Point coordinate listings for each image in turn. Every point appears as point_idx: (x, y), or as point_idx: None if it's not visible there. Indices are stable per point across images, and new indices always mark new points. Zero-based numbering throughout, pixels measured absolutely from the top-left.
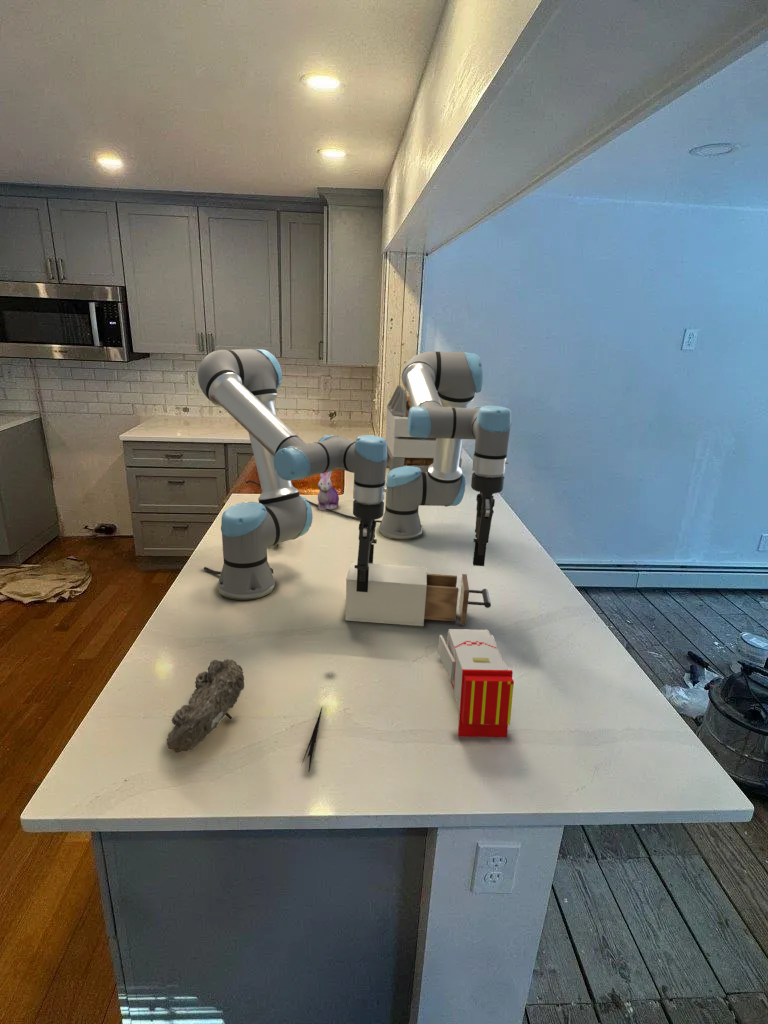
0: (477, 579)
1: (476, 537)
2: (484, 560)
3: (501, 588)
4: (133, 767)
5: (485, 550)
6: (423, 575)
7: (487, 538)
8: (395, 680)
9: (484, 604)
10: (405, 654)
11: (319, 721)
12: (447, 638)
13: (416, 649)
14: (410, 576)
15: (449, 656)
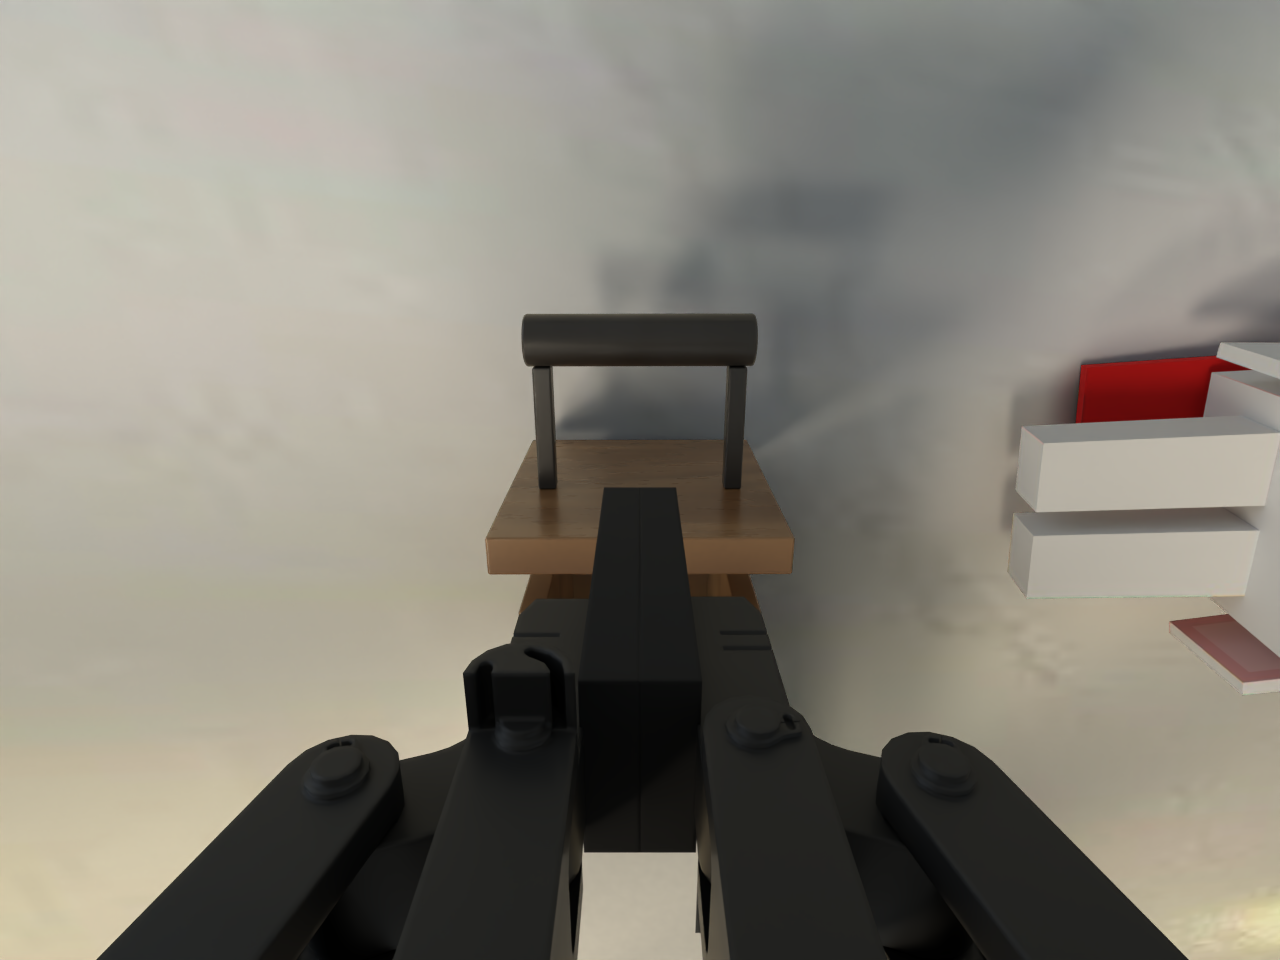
0: (50, 303)
1: (581, 866)
2: (680, 521)
3: (128, 124)
4: None
5: (689, 595)
6: (642, 861)
7: (1070, 867)
8: (1185, 740)
9: (751, 365)
10: (996, 711)
11: None
12: (1012, 575)
13: (956, 669)
14: (672, 931)
15: None
